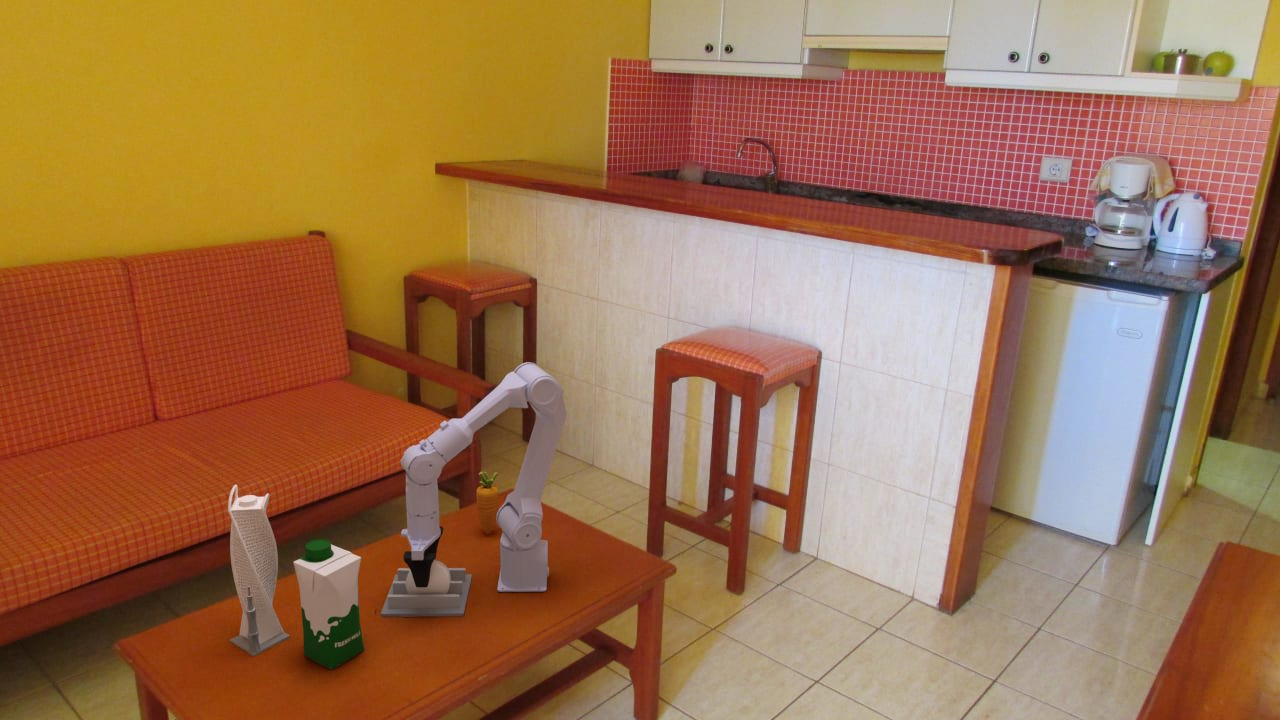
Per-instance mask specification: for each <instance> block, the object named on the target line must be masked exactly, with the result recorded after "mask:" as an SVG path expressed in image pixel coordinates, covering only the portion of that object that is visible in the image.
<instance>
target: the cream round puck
mask: <svg viewBox="0 0 1280 720" xmlns="http://www.w3.org/2000/svg"><path fill="white" fill-rule="evenodd" d="M448 568H449V567H447V565H446V564H444V563H443V562H442V561H440V560H438V559H436V560H435V559H434V561H433V563H432V565H431V570H430V579H429V584H428V587H416V585H415V582H414V579H413V576H412V573H411V570H409V573H408V576H407V579H406V589H407V592H408V594H409V595H421V594H447V592H448V590H449V586H450V582H451V574H450V571H449V569H448Z"/></svg>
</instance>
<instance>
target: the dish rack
mask: <svg viewBox="0 0 1280 720" xmlns="http://www.w3.org/2000/svg"><path fill="white" fill-rule="evenodd" d="M447 568H448V569H449V571H450V574H451V582H450V586H449V590H448V592H447V594H421V595H409V594H408V592H407V589H406V579H407V576H408V573H409V570H410V568H409V567H408V568H405V567H403V568H402V567H401V568H399V567H398V568H397V574H395V575H394V578H393V580H392V583H391V585H390V588H389V591H388V594H387V596H386V598H385V601H384V604H383V606H382V609H381V612H380V617H381V618H386V617H387V618H388V617H389V618H390V617H391V618H392V617H396V618H397V617H398V618H399V617H401V618H402V617H404V618H406V617H409V618H410V617H411V618H412V617H415V618H416V617H464V615H465V610H466V605H467V601H468V596H469V592H470V587H471V585H472V584H471V582H472V579H473V575H472V573H471V574H470V573H468V574H467V573H466V568H465V567H447Z"/></svg>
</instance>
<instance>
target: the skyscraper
mask: <svg viewBox="0 0 1280 720" xmlns="http://www.w3.org/2000/svg"><path fill="white" fill-rule="evenodd" d="M238 487H239V485H237V483H236V484H234V485H233V486H232V488H231V490H230V493H229V497H228V503H227V512H228V514H229V517H230V519H231V523H230V535H229V536H230V537H229V539H230V540H229V541H230V542H229V545H230V546H229V551H230V552H229V553H230V554H229V555H230V563H231V569H232V571H231V572H232V576H233V580H234V584H235V588H236V594H237V596H238V599H239V603H240V606H241V608H242V616H241V622H240V628H239V634H238V635H236V636H235V637H232V638H231V639H229V642H230V644H232V643H233V644H232V645H234V644H235V645H234V646H235V647H237V646H238V648H239V647H240V648H241V650H242V649H243V650H242V651H243V652H245V651H246V652H245V653H247V654H248V655H250V654H251V655H250V656H252V657H256V656H258V655H259V654H261V653H263V651H264V652H265V651H267V650H269V649H271V648H273V647H275V646H276V644H277V645H278V643H279V644H280V642H281V643H282V642H285V641H286V640H288V639H290V638H291V637H290V636H291V635H290V634H288V633H286V632H285V630H284V629H283V627H282V625H281V623H280V620H279V618H278V615H277V613H276V611H275V609H274V606H273V601H274V598H275V592H276V587H277V583H278V572H279V571H278V569H279V554H278V547H277V542H276V538H275V535H274V531H273V529H272V525H271V523H270V521H269V518H268V515H267V512H266V511H267V507H268V504H269V500H270V497H271V496H270V494H269V493H268V492H267V493H266V494H265V495H264V496H257V495H254V494H249V495H244V496H241V497H239V496H238V495H239V491H238ZM233 495H234V501H233ZM232 501H233V503H232ZM240 648H239V649H240Z"/></svg>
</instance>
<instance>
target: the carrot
mask: <svg viewBox="0 0 1280 720" xmlns="http://www.w3.org/2000/svg"><path fill="white" fill-rule="evenodd" d="M498 475H499V473H498V472H494V473H493V474H492V477H491V478H490V476H489V474H488V473H487V471H486V472H485V471H480V472H479V473H478V476H479V478H480V481H479V484H480V486H478V487H477V489H476V494H475V495H476V509H477V513H478V518H479V522H480V524H481V527H482V529H483V531H484V533H485V534H486V535H490V534H491V533H492V531H493V529H494V528H495V526H496V524H497V521H496V516H497V512H498V510H499V504H500V503H499V501H500V498H499V497H500V492H499V489H498V487H497V486H496V485H494V482H495V480H496V478H497V477H498Z"/></svg>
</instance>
